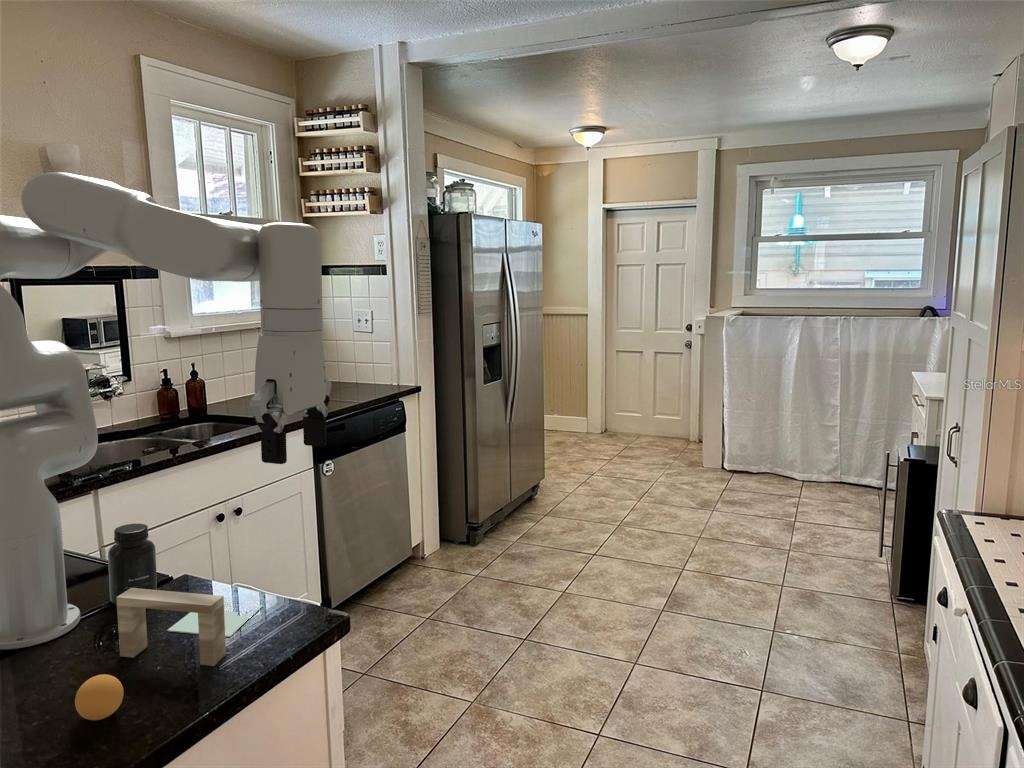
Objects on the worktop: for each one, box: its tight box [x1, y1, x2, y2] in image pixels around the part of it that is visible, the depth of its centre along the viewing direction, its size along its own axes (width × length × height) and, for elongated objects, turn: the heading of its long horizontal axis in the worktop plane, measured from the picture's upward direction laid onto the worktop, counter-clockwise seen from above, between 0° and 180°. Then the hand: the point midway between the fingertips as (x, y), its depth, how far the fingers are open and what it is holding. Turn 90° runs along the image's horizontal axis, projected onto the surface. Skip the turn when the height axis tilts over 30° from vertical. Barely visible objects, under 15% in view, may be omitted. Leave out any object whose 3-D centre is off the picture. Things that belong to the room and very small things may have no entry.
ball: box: [74, 674, 125, 721], centre depth 83 cm, size 5×5×5 cm
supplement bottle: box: [107, 523, 158, 606], centre depth 113 cm, size 7×7×12 cm
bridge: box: [116, 588, 227, 667], centre depth 97 cm, size 3×14×9 cm, turn 82°
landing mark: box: [166, 601, 264, 638], centre depth 108 cm, size 10×10×1 cm
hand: (295, 453), depth 91 cm, fingers open, 9 cm apart
